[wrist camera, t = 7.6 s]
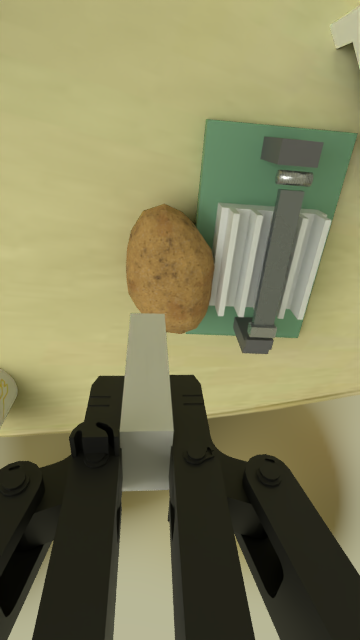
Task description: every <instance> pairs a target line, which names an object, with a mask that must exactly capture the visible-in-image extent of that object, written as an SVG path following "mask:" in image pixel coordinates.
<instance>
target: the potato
mask: <svg viewBox="0 0 360 640" xmlns="http://www.w3.org/2000/svg"><path fill="white" fill-rule="evenodd" d="M214 269H215V266H214V261H213V256H212V250H211V248H210V247H209V245H208V244H207V243H206V241H205V240H204V238H203V237H202V235H201V234H200V232H199V231H198V229H197V228H196V226H195V225H194V224H193V223H192V222H191V221H190V220H189V219H188V218H187V217H186V215H185V214H184V213H183V212H181V211H179V210H177V209H174V208H172V207H170V206H168V205H166V204H163V205H160V206H157V207H154V208H151V209H147V210H144V211H143V212H142V214H141V216H140V217H139V219H138V220H137V222H136V224H135V225H134V227H133V228H132V230H131V234H130V238H129V243H128V247H127V262H126V273H127V285H128V292H129V295H130V297H131V298H132V300H133V302H134V303H135V305H136V307H137V308H138V309H139V310H140V312H141V313H148V314H165V325H166V332H170V333H178V334H182V333H185V332H188V331H191V330H193V329H196V328H197V327H198V325H199V324H200V322H201V321H202V320H203V318H204V317H205V315H206V313H207V310H208V306H209V302H210V298H211V290H212V281H213V275H214Z"/></svg>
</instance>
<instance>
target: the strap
mask: <svg viewBox="0 0 360 640" xmlns="http://www.w3.org/2000/svg"><path fill="white" fill-rule="evenodd" d="M312 182H313V173H312V172H302V171H290V170H278V171H277V173H276V177H275V183H276V184H280V185H292V186H305V187H310V186H311V184H312ZM304 193H305V192H304V191H302V190H289V189H278V192H277V197H276V202H275V207H274V212H273V218H272V223H271V228H270V233H269V238H268V243H267V248H266V253H265V258H264V263H263V268H262V273H261V278H260V283H259V288H258V293H257V298H256V303H255V308H254V313H253V318H252V322H249V325H248V330H247V332H248V334H249V336H250V337H263V338H275V335H276V331H277V327H276V326H275V324H274V322H275V317H276V313H277V309H278V304H279V300H280V296H281V292H282V287H283V283H284V279H285V275H286V270H287V266H288V262H289V257H290V253H291V249H292V245H293V240H294V236H295V232H296V228H297V223H298V219H299V215H300V210H301V206H302V202H303V198H304Z"/></svg>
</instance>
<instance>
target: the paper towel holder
mask: <svg viewBox="0 0 360 640" xmlns="http://www.w3.org/2000/svg"><path fill="white" fill-rule="evenodd" d="M330 29H331V33H332V36H333V40H334V43H335V47H336V49H337V48H340V47H342V46H344V45H347V44H349V43H351V42H353V45H354V49H355V53H356V57H357V61H358V65H359V68H360V5H359V6H357V7H356V8H354V9H353V10H351V11H350V12H348V13H347V14H345V15H344V16H343V17H341V18H340V19H338V20H337V21H335V22H334V23H332V24H331V25H330Z"/></svg>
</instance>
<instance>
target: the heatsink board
mask: <svg viewBox="0 0 360 640" xmlns="http://www.w3.org/2000/svg"><path fill="white" fill-rule="evenodd" d="M357 134H358V133H348V132H337V131H327V130H316V129H305V128H295V127H284V126H274V125H263V124H252V123H242V122H231V121H220V120H210V119H206V125H205V135H204V145H203V155H202V164H201V174H200V184H199V194H198V204H197V214H196V224H195V226H196V228H197V229H198V231H199V232H200V234H201V235H202V237H203V238H204V240H205V241H206V243H207V244H208V245H209V247H210V248H211V250H212V256H213V261H214V266H215V269H214V275H213V281H212V290H211V298H210V302H209V306H208V310H207V313H206V315H205V317H204V318H203V320H202V321H201V322H200V324H199V325H198V327H197V328H196V329H193V330H191V331H188V332H186V334H204V335H231V336H236V337H237V340H238V343H239V345H240V348H241V351H242V353H255V354H268V351H269V350H271V348H272V345H273V339H272V338H263V337H250V336H249V334H248V332H247V330H248V325H249V322H252V318H253V313H254V308H255V303H256V298H257V293H258V288H259V283H260V278H261V273H262V268H263V263H264V258H265V253H266V248H267V243H268V238H269V233H270V228H271V223H272V218H273V212H274V207H275V202H276V197H277V192H278V189H289V190H302V191H304V192H305V193H304V198H303V202H302V206H301V210H300V215H299V219H298V223H297V228H296V232H295V236H294V240H293V245H292V249H291V253H290V257H289V262H288V266H287V270H286V275H285V279H284V283H283V287H282V292H281V296H280V300H279V304H278V309H277V313H276V317H275V322H274V324H275V326H276V327H277V331H276V335H275V337H285V338H298V336H299V332H300V329H301V326H302V322H303V319H304V315H305V312H306V309H307V305H308V302H309V298H310V295H311V291H312V288H313V285H314V281H315V278H316V274H317V271H318V267H319V264H320V261H321V257H322V254H323V250H324V247H325V244H326V240H327V237H328V233H329V230H330V226H331V223H332V220H333V216H334V213H335V209H336V206H337V202H338V199H339V196H340V192H341V189H342V185H343V182H344V178H345V175H346V172H347V168H348V165H349V161H350V158H351V155H352V151H353V148H354V144H355V141H356V137H357ZM278 170H290V171H302V172H312V173H313V182H312V184H311V186H310V187H305V186H292V185H280V184H276V183H275V177H276V173H277V171H278Z"/></svg>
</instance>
